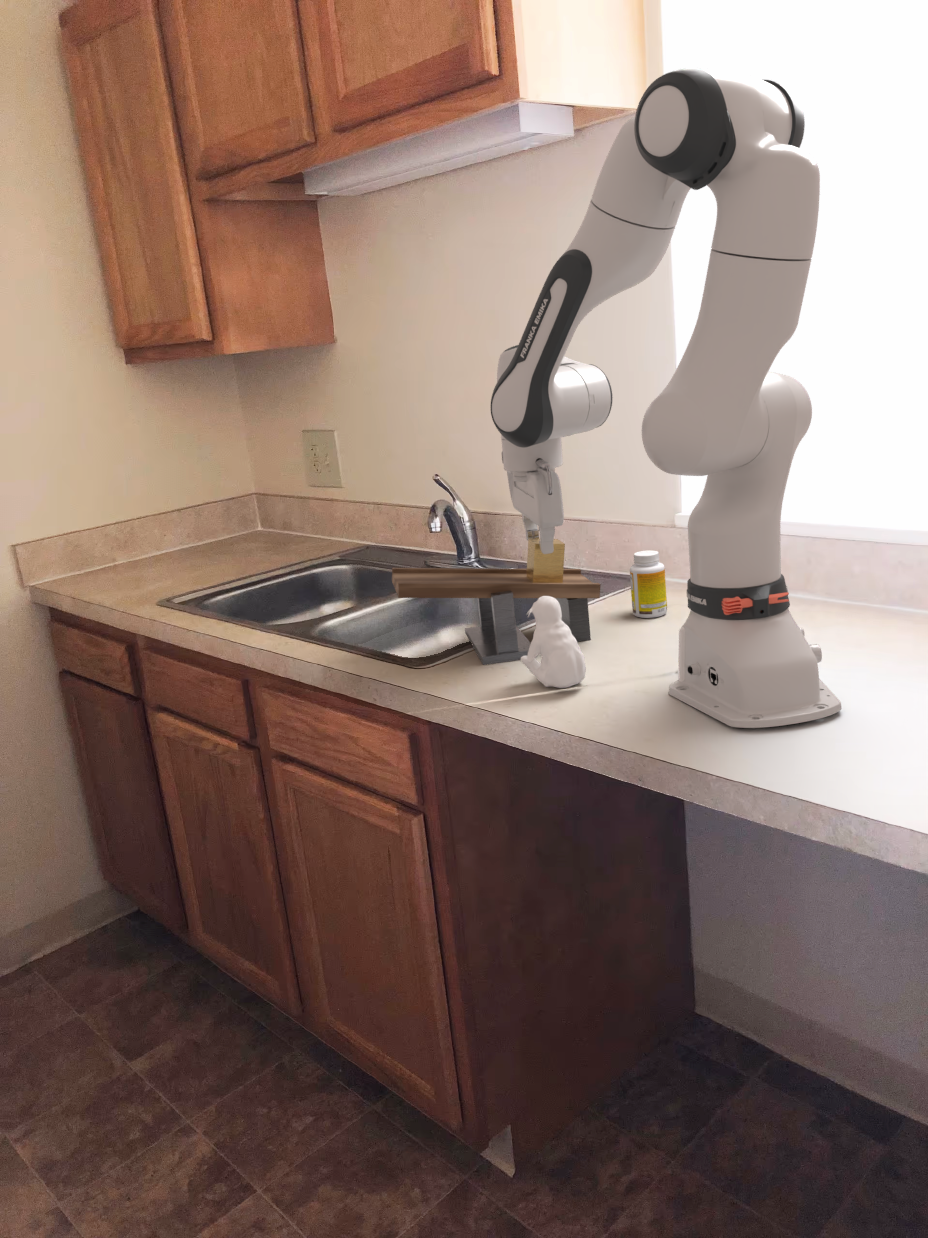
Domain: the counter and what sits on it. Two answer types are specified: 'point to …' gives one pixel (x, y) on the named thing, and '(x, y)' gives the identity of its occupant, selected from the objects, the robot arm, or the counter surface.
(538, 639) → the white seated figurine
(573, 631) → the trestle
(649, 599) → the supplement bottle
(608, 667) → the counter surface
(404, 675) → the counter surface
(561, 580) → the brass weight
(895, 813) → the counter surface
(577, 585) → the beam
